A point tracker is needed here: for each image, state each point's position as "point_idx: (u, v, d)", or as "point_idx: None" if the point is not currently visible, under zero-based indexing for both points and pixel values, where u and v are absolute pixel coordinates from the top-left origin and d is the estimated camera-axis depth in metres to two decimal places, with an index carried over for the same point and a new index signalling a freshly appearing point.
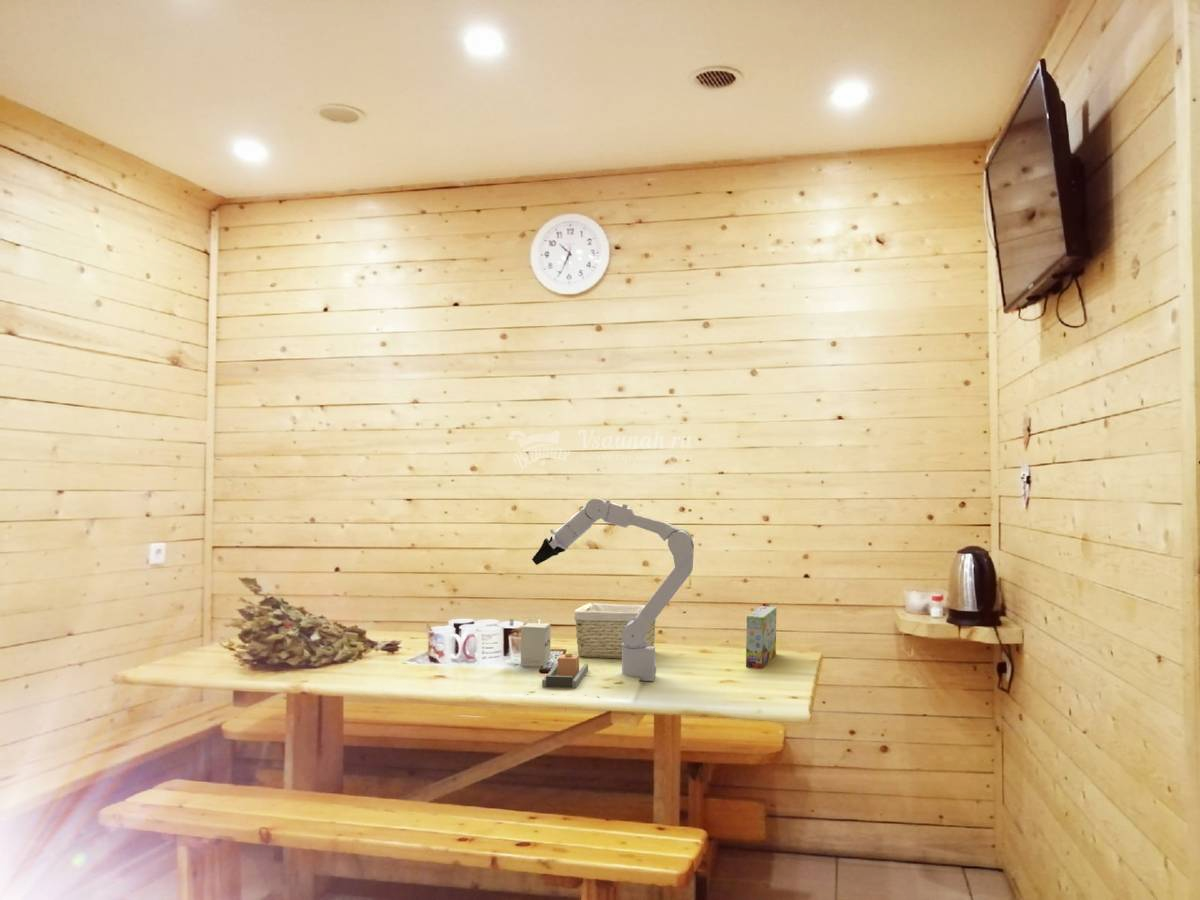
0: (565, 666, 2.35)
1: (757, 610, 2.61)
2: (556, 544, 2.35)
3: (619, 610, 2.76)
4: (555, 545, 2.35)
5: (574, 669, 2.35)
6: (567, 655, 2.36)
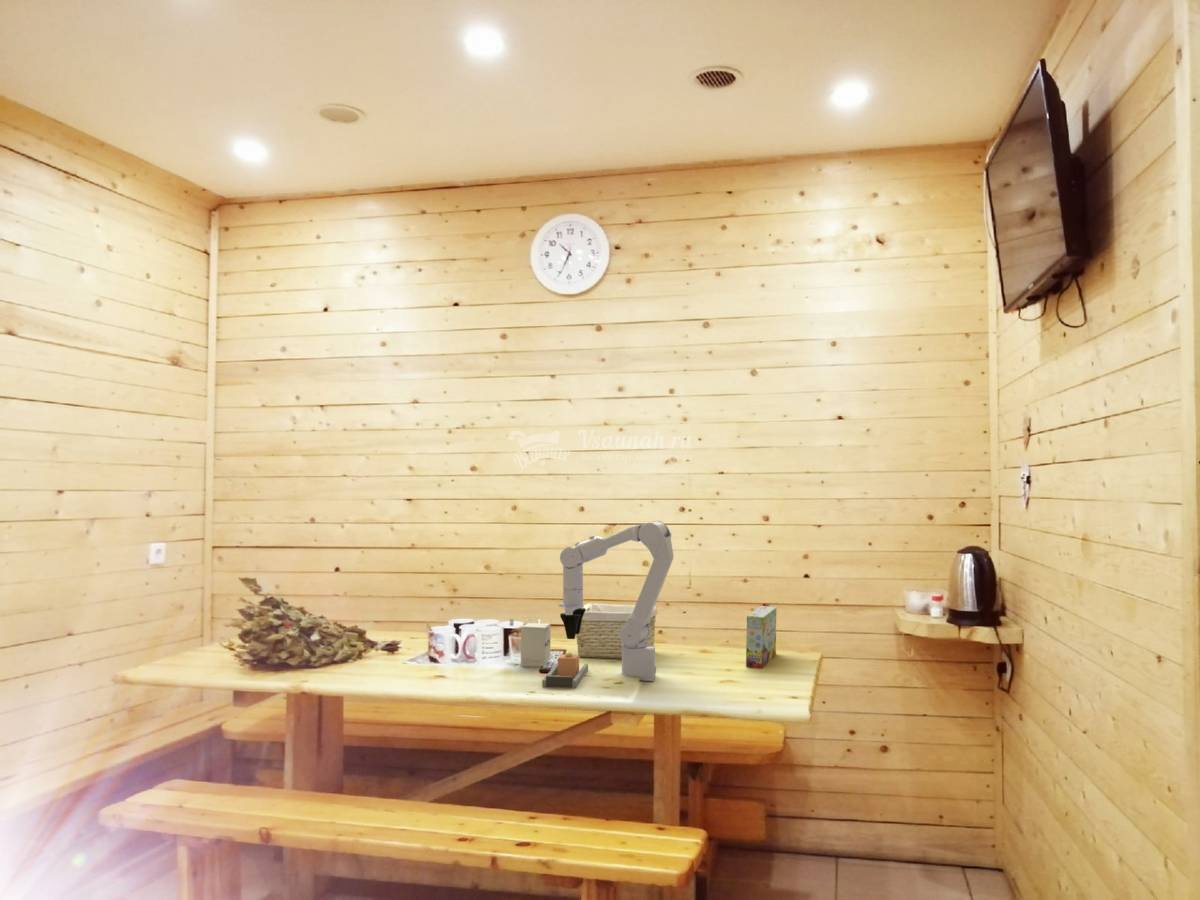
0: (565, 666, 2.35)
1: (757, 610, 2.61)
2: (570, 609, 2.38)
3: (619, 610, 2.75)
4: (570, 611, 2.38)
5: (574, 669, 2.35)
6: (567, 655, 2.36)
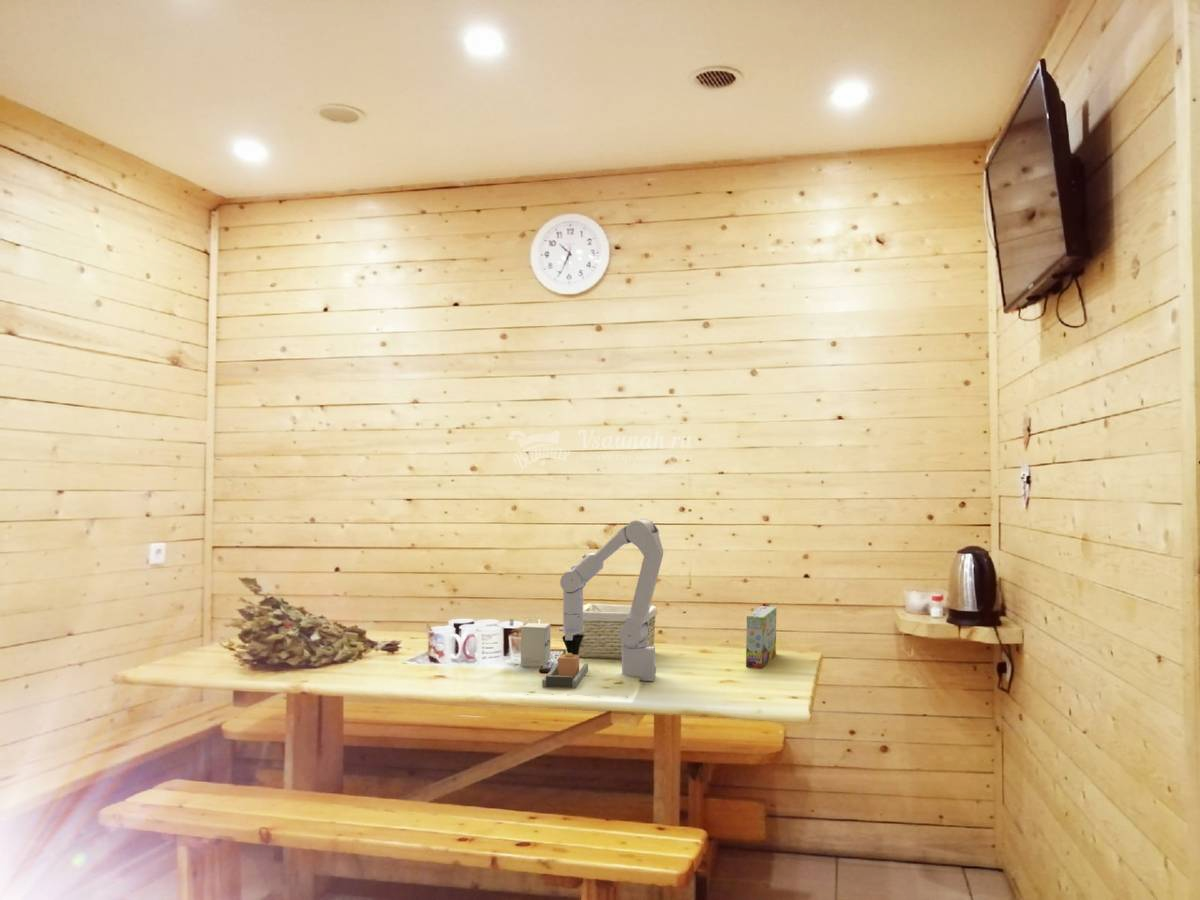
0: (565, 666, 2.35)
1: (757, 610, 2.61)
2: (570, 635, 2.38)
3: (619, 610, 2.75)
4: (570, 636, 2.38)
5: (574, 669, 2.35)
6: (567, 655, 2.36)
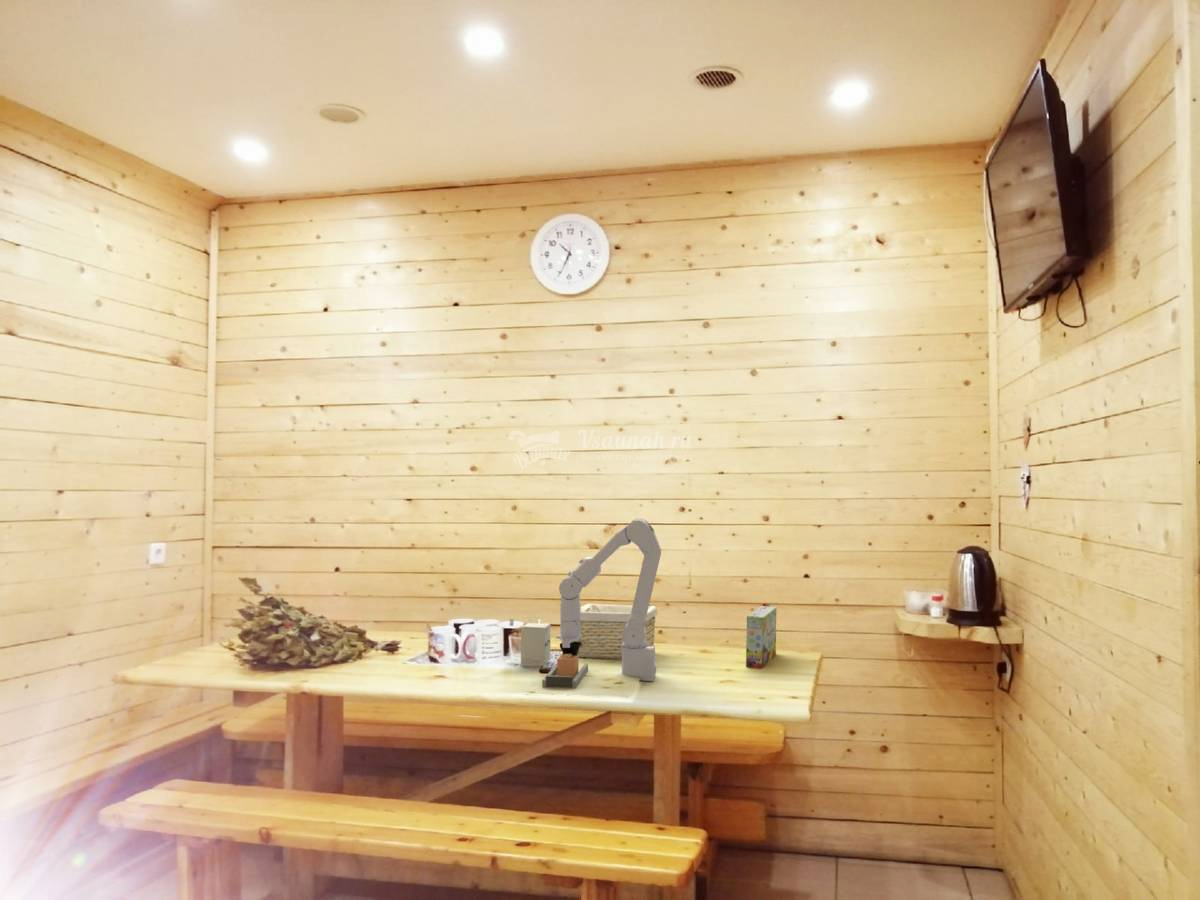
0: (564, 667, 2.34)
1: (757, 610, 2.61)
2: (567, 642, 2.33)
3: (618, 611, 2.75)
4: (568, 643, 2.33)
5: (573, 670, 2.33)
6: (566, 656, 2.35)
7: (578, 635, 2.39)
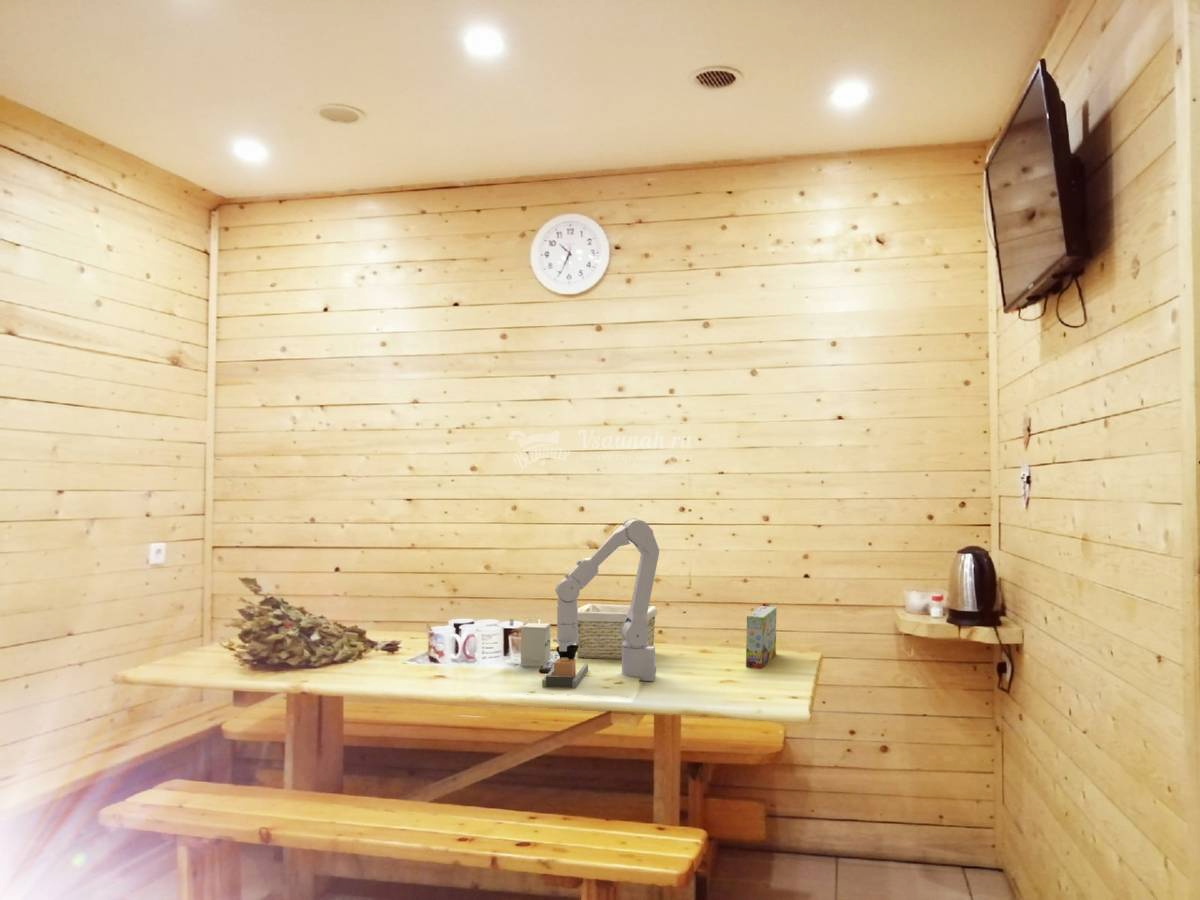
0: (561, 671, 2.29)
1: (757, 610, 2.61)
2: (564, 645, 2.29)
3: (618, 611, 2.74)
4: (564, 647, 2.29)
5: (570, 674, 2.29)
6: (563, 660, 2.31)
7: (575, 638, 2.34)
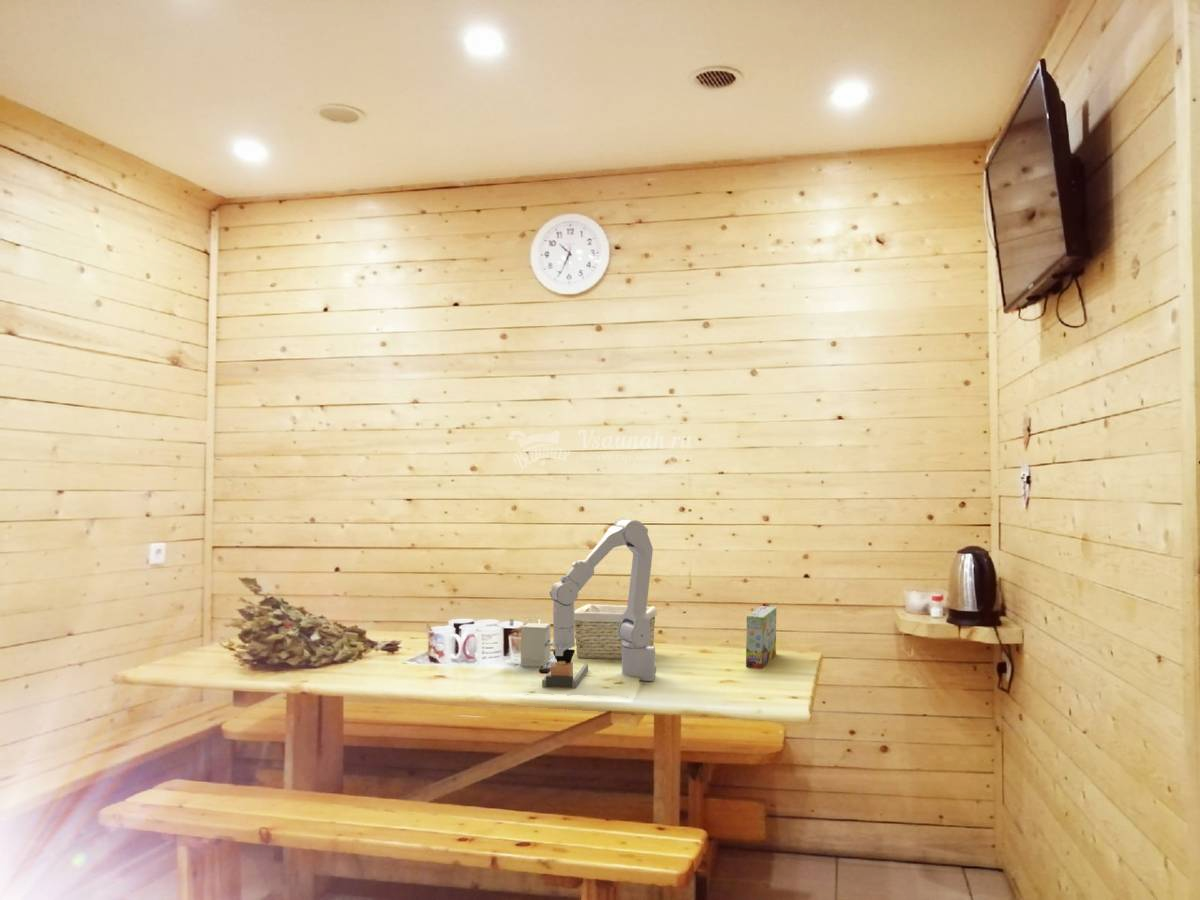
0: (558, 675, 2.25)
1: (757, 610, 2.61)
2: (560, 650, 2.23)
3: (618, 611, 2.74)
4: (561, 651, 2.23)
5: None
6: (560, 663, 2.27)
7: (572, 642, 2.29)
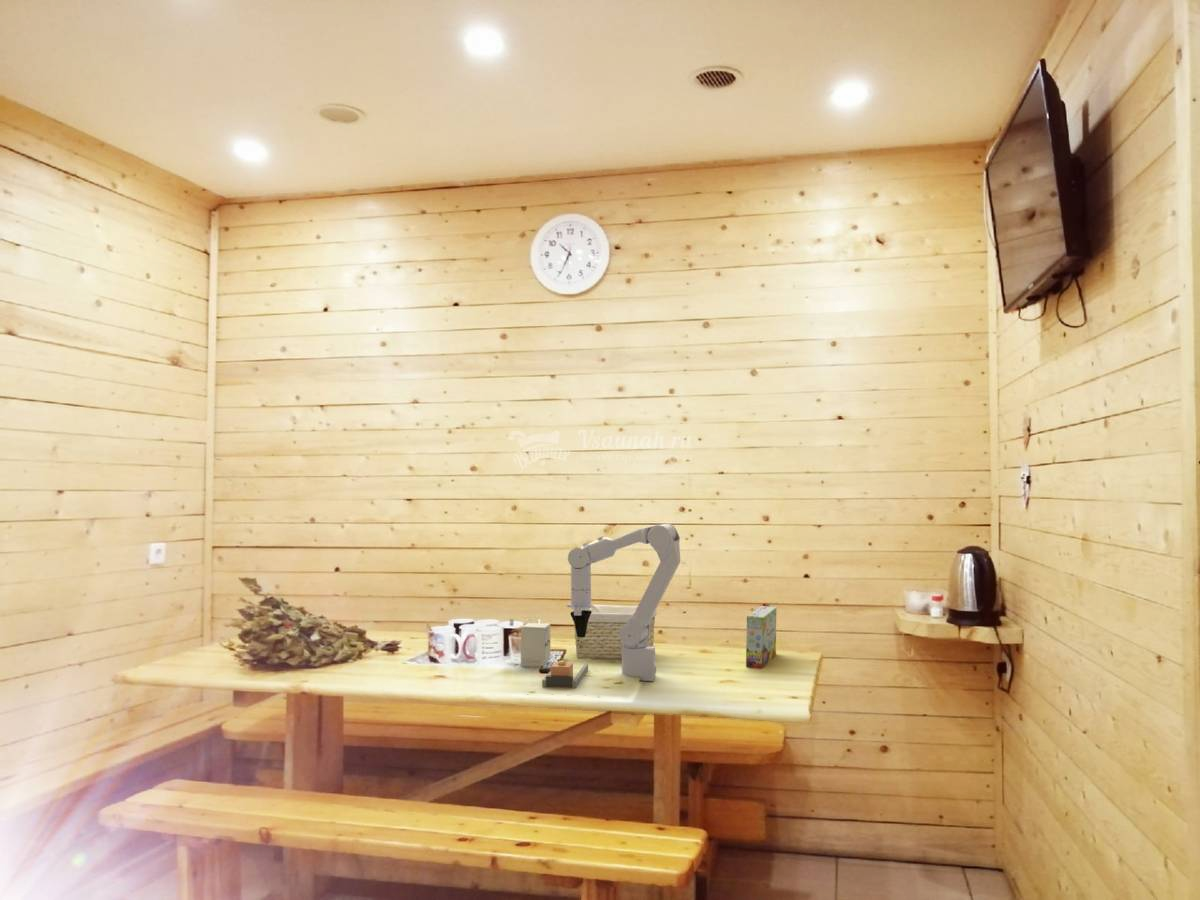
0: None
1: (757, 610, 2.61)
2: (579, 610, 2.37)
3: (618, 611, 2.73)
4: (579, 611, 2.37)
5: None
6: (560, 663, 2.27)
7: (589, 604, 2.43)
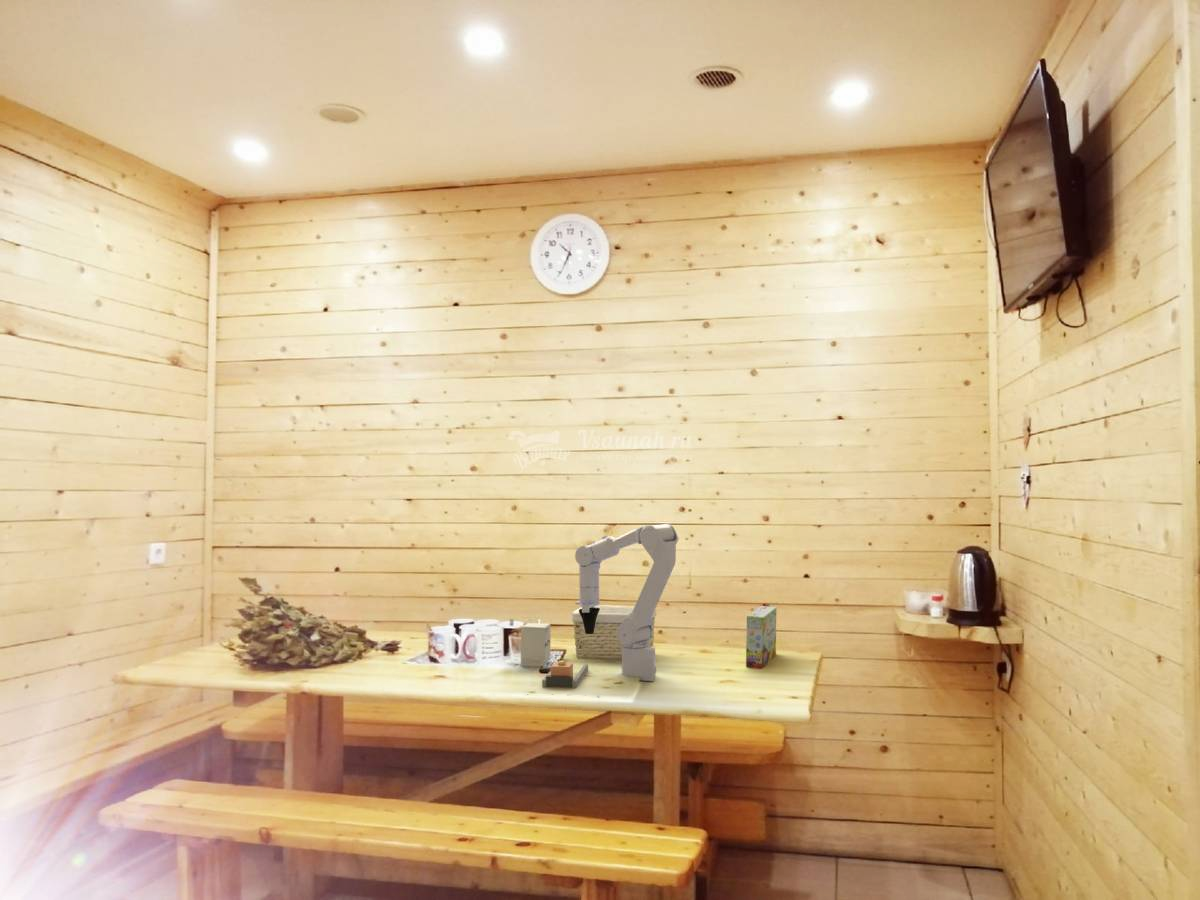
0: None
1: (757, 610, 2.61)
2: (587, 607, 2.42)
3: (618, 611, 2.73)
4: (587, 608, 2.42)
5: None
6: (560, 663, 2.27)
7: (597, 601, 2.47)
